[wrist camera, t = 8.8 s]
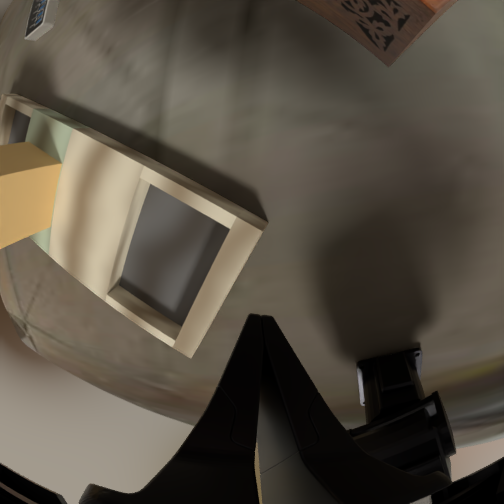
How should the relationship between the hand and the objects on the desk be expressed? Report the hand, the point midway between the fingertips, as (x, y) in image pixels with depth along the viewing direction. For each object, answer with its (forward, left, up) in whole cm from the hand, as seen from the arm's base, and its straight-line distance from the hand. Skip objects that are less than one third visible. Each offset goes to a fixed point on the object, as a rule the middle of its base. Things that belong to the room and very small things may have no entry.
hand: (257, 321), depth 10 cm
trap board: (+9, +19, -12) cm, 25 cm away
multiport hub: (+39, +19, -13) cm, 45 cm away
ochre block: (+12, +22, -10) cm, 27 cm away
